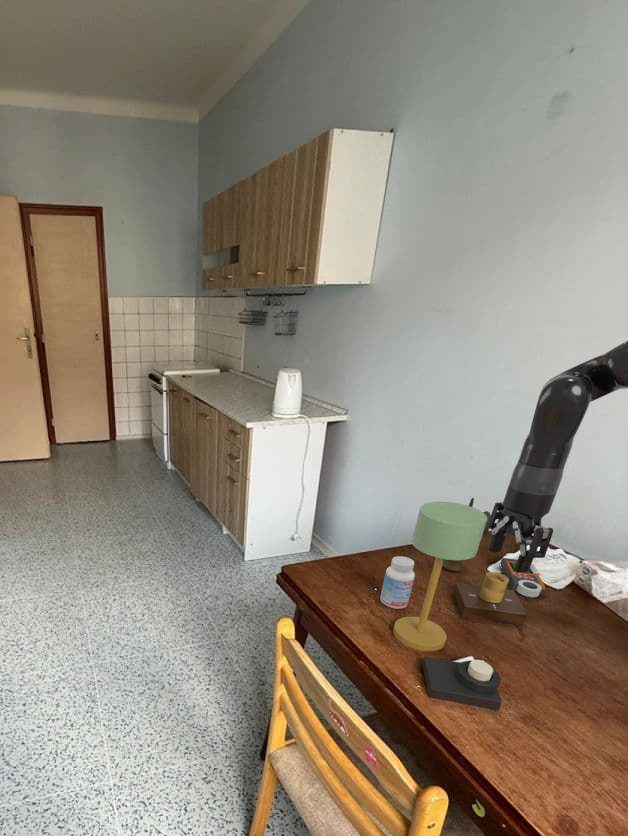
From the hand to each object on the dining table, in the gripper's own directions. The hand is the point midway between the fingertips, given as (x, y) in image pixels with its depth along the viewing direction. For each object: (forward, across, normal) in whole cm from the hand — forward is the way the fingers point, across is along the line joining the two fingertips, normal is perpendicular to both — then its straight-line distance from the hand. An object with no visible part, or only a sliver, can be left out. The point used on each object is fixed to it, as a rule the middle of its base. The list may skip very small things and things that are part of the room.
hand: (506, 561), depth 96 cm
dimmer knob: (+12, +5, -3) cm, 14 cm away
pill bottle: (+16, +8, +17) cm, 24 cm away
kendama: (+16, +24, -5) cm, 29 cm away
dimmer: (+15, +5, -3) cm, 17 cm away
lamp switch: (+12, -20, +14) cm, 27 cm away
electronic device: (+16, +16, -18) cm, 29 cm away
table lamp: (+15, -4, +16) cm, 23 cm away
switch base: (+16, -19, +16) cm, 29 cm away
